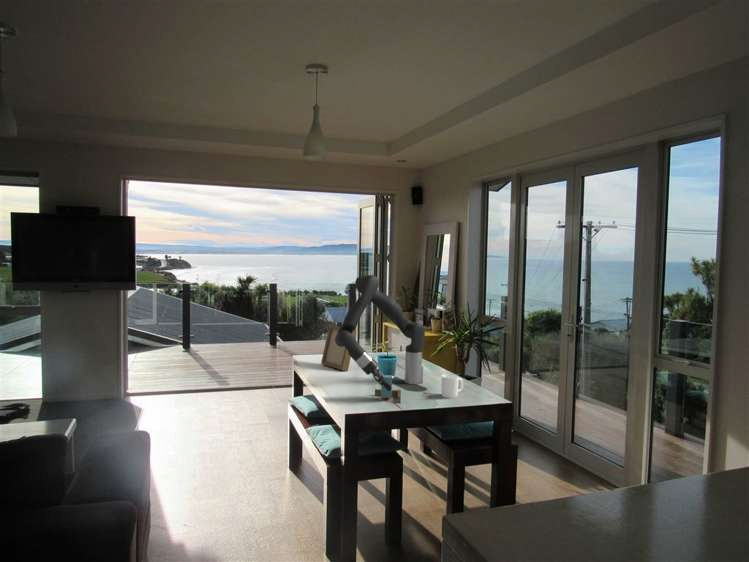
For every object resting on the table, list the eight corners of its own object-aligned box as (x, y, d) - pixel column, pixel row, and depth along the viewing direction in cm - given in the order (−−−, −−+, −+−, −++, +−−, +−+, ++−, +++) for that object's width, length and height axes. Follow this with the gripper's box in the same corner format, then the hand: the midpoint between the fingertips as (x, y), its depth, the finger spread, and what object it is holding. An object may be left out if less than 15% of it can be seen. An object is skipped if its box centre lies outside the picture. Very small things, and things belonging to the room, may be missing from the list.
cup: (438, 394, 281) (438, 375, 280) (458, 392, 285) (459, 373, 285) (446, 399, 273) (447, 378, 273) (467, 396, 278) (468, 377, 277)
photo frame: (342, 371, 326) (343, 329, 325) (320, 365, 343) (322, 325, 341) (361, 369, 336) (362, 328, 334) (340, 362, 352) (341, 323, 351)
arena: (373, 402, 264) (373, 395, 264) (374, 394, 277) (375, 389, 277) (400, 403, 264) (400, 397, 263) (400, 395, 277) (400, 390, 276)
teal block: (381, 394, 273) (382, 374, 272) (391, 395, 272) (392, 375, 272) (381, 397, 268) (381, 377, 267) (391, 398, 267) (391, 377, 267)
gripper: (371, 360, 262) (395, 386, 262) (372, 354, 276) (396, 379, 276) (359, 371, 263) (384, 397, 263) (362, 365, 277) (385, 389, 277)
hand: (390, 388), depth 270 cm, fingers closed on teal block, 5 cm apart
